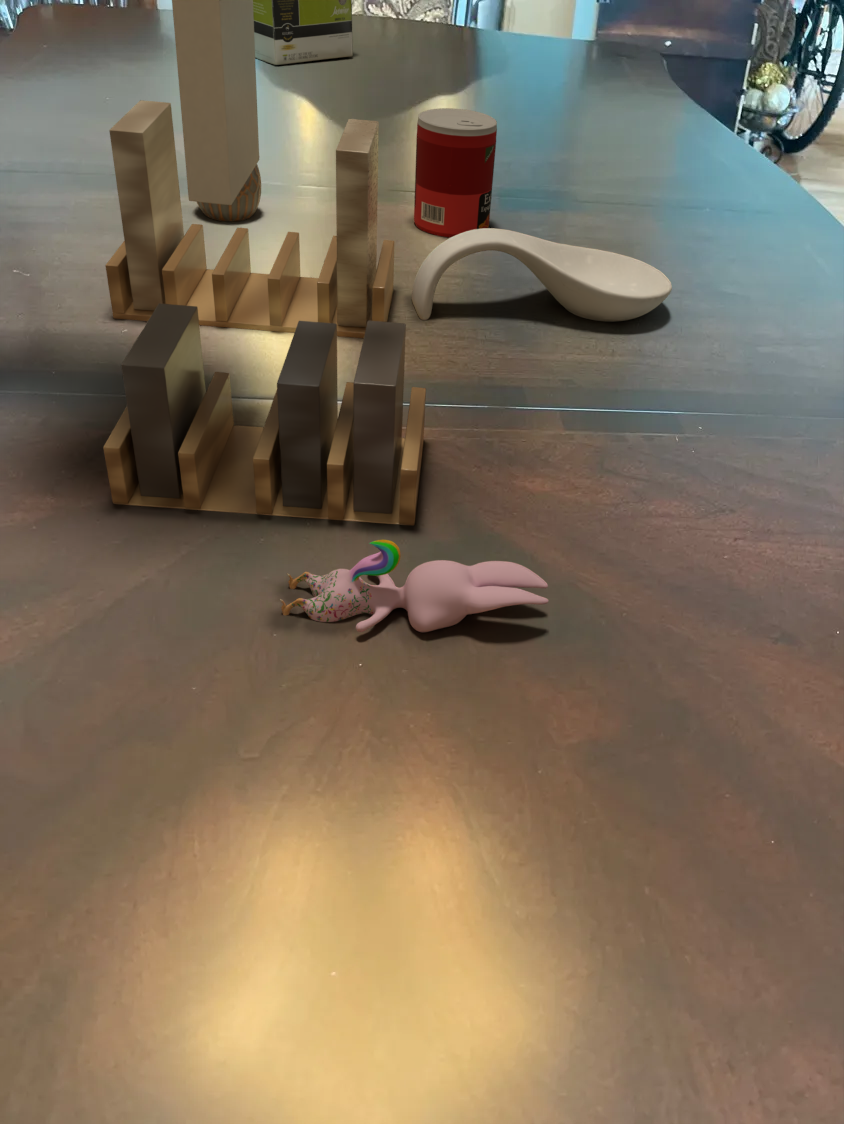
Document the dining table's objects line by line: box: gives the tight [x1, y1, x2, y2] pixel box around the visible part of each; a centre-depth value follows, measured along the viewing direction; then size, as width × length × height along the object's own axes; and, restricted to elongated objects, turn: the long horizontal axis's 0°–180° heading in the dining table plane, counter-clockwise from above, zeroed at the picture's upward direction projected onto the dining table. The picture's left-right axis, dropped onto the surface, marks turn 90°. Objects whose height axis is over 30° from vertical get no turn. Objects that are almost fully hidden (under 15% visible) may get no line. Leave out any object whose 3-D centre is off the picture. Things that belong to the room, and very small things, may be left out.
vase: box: [196, 163, 262, 222], centre depth 106 cm, size 7×7×9 cm
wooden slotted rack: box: [104, 99, 396, 339], centre depth 88 cm, size 22×11×15 cm, turn 89°
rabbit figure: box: [278, 539, 549, 633], centre depth 59 cm, size 6×6×15 cm
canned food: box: [413, 107, 498, 238], centre depth 108 cm, size 8×8×11 cm
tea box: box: [253, 0, 354, 66], centre depth 162 cm, size 15×10×15 cm, turn 133°
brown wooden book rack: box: [102, 303, 427, 526], centre depth 68 cm, size 19×11×10 cm, turn 89°
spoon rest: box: [411, 227, 673, 323], centre depth 94 cm, size 24×12×7 cm, turn 104°
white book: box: [171, 0, 260, 205], centre depth 60 cm, size 2×9×14 cm, turn 179°
